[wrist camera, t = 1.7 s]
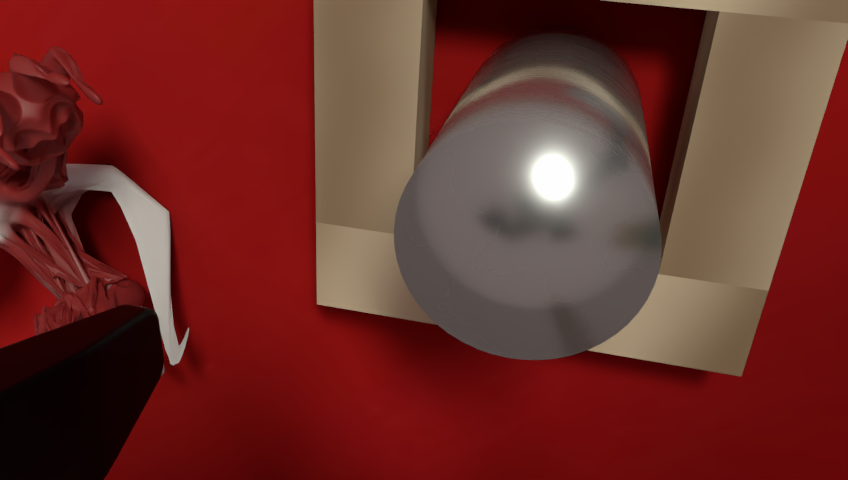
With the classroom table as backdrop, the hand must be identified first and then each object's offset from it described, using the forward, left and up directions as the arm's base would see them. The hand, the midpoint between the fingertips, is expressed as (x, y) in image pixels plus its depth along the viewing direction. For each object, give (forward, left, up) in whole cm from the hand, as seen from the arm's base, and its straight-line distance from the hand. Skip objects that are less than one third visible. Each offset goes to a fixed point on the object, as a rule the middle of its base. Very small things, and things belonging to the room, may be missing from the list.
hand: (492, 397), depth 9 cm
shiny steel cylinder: (0, 0, -12) cm, 12 cm away
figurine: (+15, +5, -13) cm, 20 cm away
